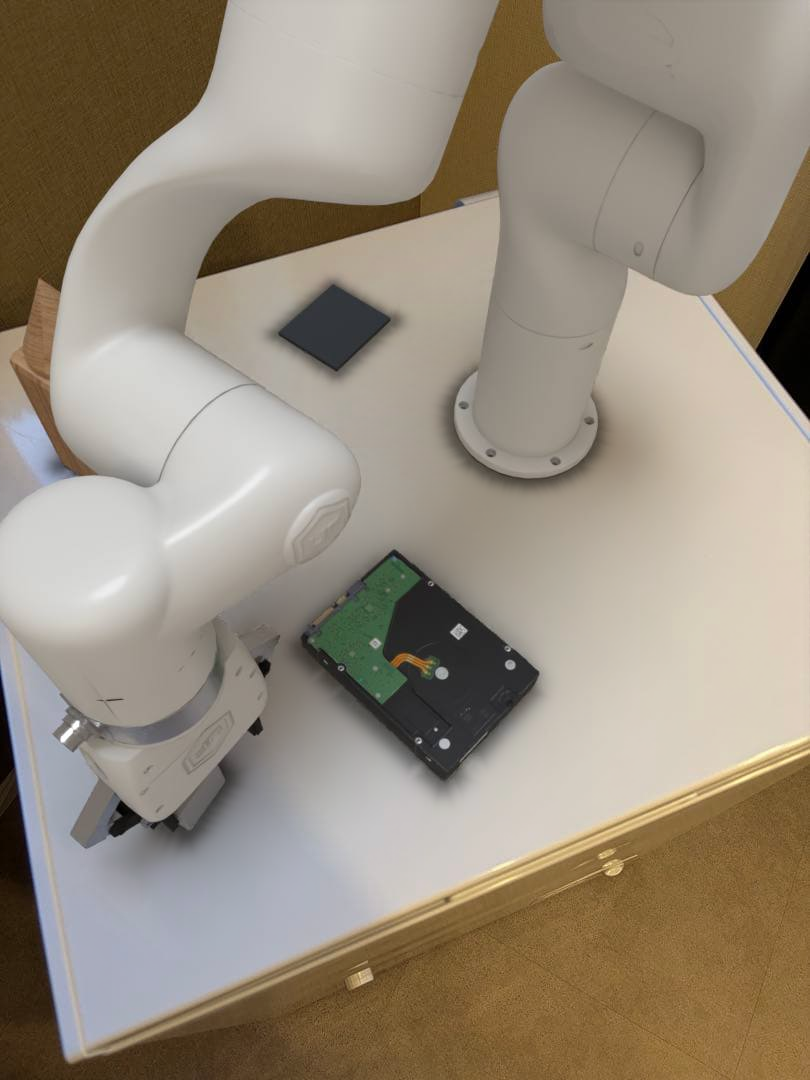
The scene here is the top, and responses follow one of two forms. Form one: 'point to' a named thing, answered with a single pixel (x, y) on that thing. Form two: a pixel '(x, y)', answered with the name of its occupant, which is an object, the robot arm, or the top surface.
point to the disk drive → (419, 662)
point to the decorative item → (43, 369)
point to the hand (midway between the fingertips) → (202, 765)
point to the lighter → (200, 799)
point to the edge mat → (334, 327)
